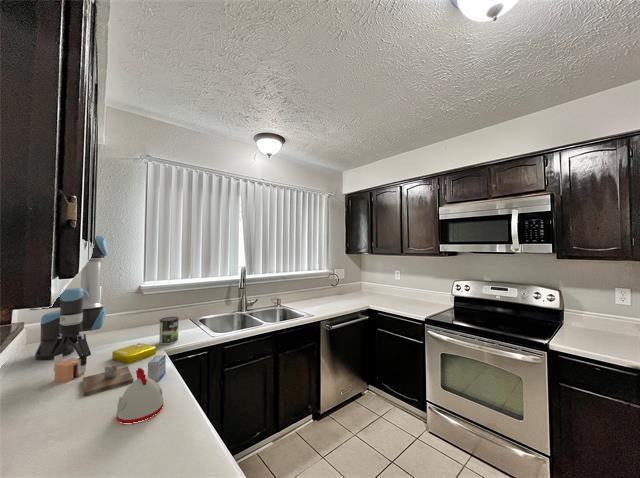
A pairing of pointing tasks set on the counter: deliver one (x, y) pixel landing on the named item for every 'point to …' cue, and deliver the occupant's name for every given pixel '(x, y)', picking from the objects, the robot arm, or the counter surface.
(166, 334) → the coffee can
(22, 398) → the counter surface
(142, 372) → the chicken dome
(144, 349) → the element tile
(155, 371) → the medicine box
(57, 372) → the orange cube
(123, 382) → the board
